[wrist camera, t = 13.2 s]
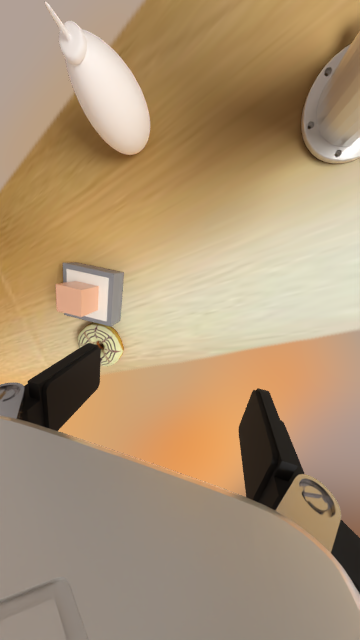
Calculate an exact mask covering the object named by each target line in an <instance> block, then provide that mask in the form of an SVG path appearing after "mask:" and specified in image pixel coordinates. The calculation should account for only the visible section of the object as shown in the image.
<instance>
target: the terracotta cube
mask: <svg viewBox="0 0 360 640" xmlns="http://www.w3.org/2000/svg"><path fill="white" fill-rule="evenodd" d="M98 297H99V286H96V285H92V284H87V283H83V282H78V281H72V282H65V283H59V284H56V304H57V311H59V312H63V313H67V314H71V315H75V316H79V317H83V316H85V315H88V314H90V313H92V312H95V311H97V310H98Z"/></svg>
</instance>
